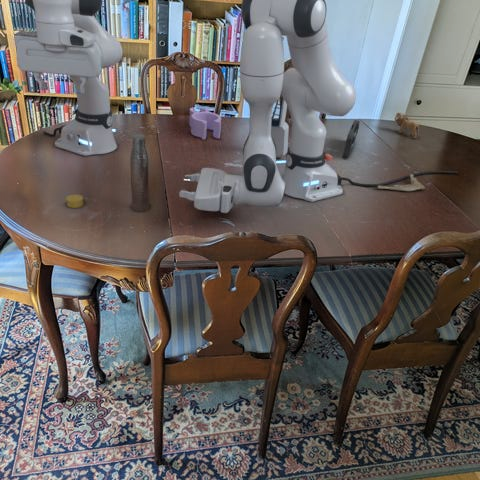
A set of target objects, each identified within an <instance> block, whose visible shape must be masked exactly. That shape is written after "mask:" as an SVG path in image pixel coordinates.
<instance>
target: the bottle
mask: <svg viewBox="0 0 480 480" xmlns="http://www.w3.org/2000/svg"><path fill="white" fill-rule="evenodd" d="M131 139H132V145H131V149H130V150H131V151H130V154H129V155H130V156H129V157H130V158H129V159H130V160H129V165H130V184H131V185H130V187H131V188H130V191H131V208H132V210H134V211H135V212H145V211H148V210H149V209H150V196H149V195H150V187H149V185H150V184H149V183H150V182H149V180H150V179H149V178H150V177H149V155H148V154H149V153H148V149H147V145H146V136H145V135H144V134H142V133H135V134H133V135H132V136H131Z"/></svg>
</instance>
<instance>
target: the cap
mask: <svg viewBox="0 0 480 480" xmlns="http://www.w3.org/2000/svg"><path fill="white" fill-rule="evenodd" d="M65 200H66V205H67V207H68V208H73V209H76V208H80V207H82V206H83V205H84V197H83V196H82V195H80V194H70V195H68V196H67V197H66V198H65Z"/></svg>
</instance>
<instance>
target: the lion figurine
mask: <svg viewBox="0 0 480 480" xmlns="http://www.w3.org/2000/svg"><path fill="white" fill-rule="evenodd" d="M394 122H395V123H396V125H397V126H399V131H397V133H398V134H401V133H402V132H403V131H404V129H408V130H411V132H412V133H411V134H410V136H412V139H416V138H417V137H418V138H419V139H422V137H421V136H420V127H419V126H420V125H419V123H418V122H416V121H411V120H409V117H407V116H406V114H404V113H403V112H396V114H395V116H394ZM402 130H403V131H402ZM400 131H402V132H400ZM416 131H417V132H416ZM413 134H414V135H413ZM414 136H415V137H414Z"/></svg>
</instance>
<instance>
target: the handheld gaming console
mask: <svg viewBox="0 0 480 480" xmlns="http://www.w3.org/2000/svg"><path fill="white" fill-rule="evenodd" d="M360 123H361V122H360V120H358V119H354V120H353V122H352V124H351V127H350V129H349V131H348V133H347V135H346V136H347V137H346V141H345V146H344V150H343V154H342V158H343V159H349V158H350V156H351V153H352V151H353V148H354V145H355V144H356V141H357V136H358V133H359V129H360Z"/></svg>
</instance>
